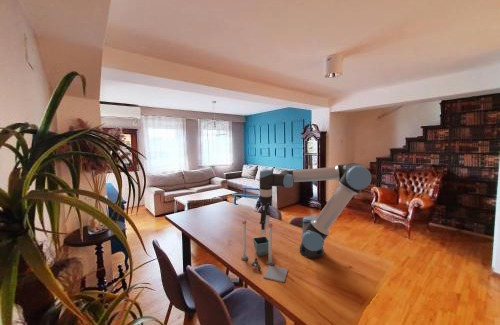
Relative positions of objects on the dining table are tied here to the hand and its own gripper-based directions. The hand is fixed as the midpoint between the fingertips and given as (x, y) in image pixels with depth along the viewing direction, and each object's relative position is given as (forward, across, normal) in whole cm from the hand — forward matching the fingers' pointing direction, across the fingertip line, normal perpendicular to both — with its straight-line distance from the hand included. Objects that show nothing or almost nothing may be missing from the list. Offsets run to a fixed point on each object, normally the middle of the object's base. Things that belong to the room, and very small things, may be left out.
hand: (265, 229), depth 130 cm
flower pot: (+18, -4, -3) cm, 19 cm away
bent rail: (+18, +11, -2) cm, 21 cm away
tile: (+18, +15, +9) cm, 25 cm away
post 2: (+18, +6, +4) cm, 19 cm away
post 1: (+18, +4, -12) cm, 22 cm away
